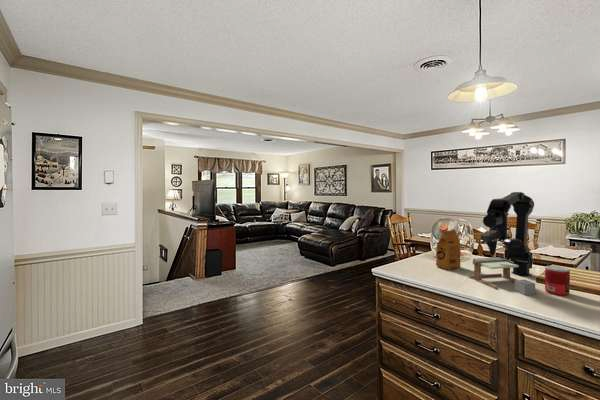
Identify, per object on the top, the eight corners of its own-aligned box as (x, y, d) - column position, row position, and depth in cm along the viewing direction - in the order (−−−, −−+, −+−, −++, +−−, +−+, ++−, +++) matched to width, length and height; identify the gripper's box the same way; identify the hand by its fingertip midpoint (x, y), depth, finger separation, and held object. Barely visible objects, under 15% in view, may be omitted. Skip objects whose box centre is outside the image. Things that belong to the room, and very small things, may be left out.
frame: (468, 277, 149) (468, 259, 148) (501, 275, 151) (501, 257, 150) (494, 289, 132) (494, 268, 132) (530, 286, 134) (530, 265, 134)
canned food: (571, 297, 120) (572, 271, 120) (546, 294, 124) (546, 269, 124) (567, 291, 127) (567, 266, 126) (543, 288, 131) (543, 264, 130)
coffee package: (433, 266, 171) (432, 229, 171) (449, 263, 176) (448, 227, 175) (447, 270, 162) (446, 231, 161) (463, 267, 166) (463, 229, 166)
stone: (524, 290, 129) (524, 279, 129) (535, 294, 124) (535, 283, 124) (514, 291, 129) (514, 280, 129) (524, 295, 124) (524, 284, 124)
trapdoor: (472, 264, 148) (472, 258, 148) (497, 262, 150) (497, 257, 150) (491, 271, 136) (491, 265, 136) (518, 269, 137) (518, 263, 137)
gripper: (470, 223, 147) (471, 254, 148) (500, 228, 129) (500, 263, 129) (491, 222, 148) (491, 252, 149) (522, 227, 130) (522, 262, 131)
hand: (500, 257), depth 139 cm, fingers open, 9 cm apart
